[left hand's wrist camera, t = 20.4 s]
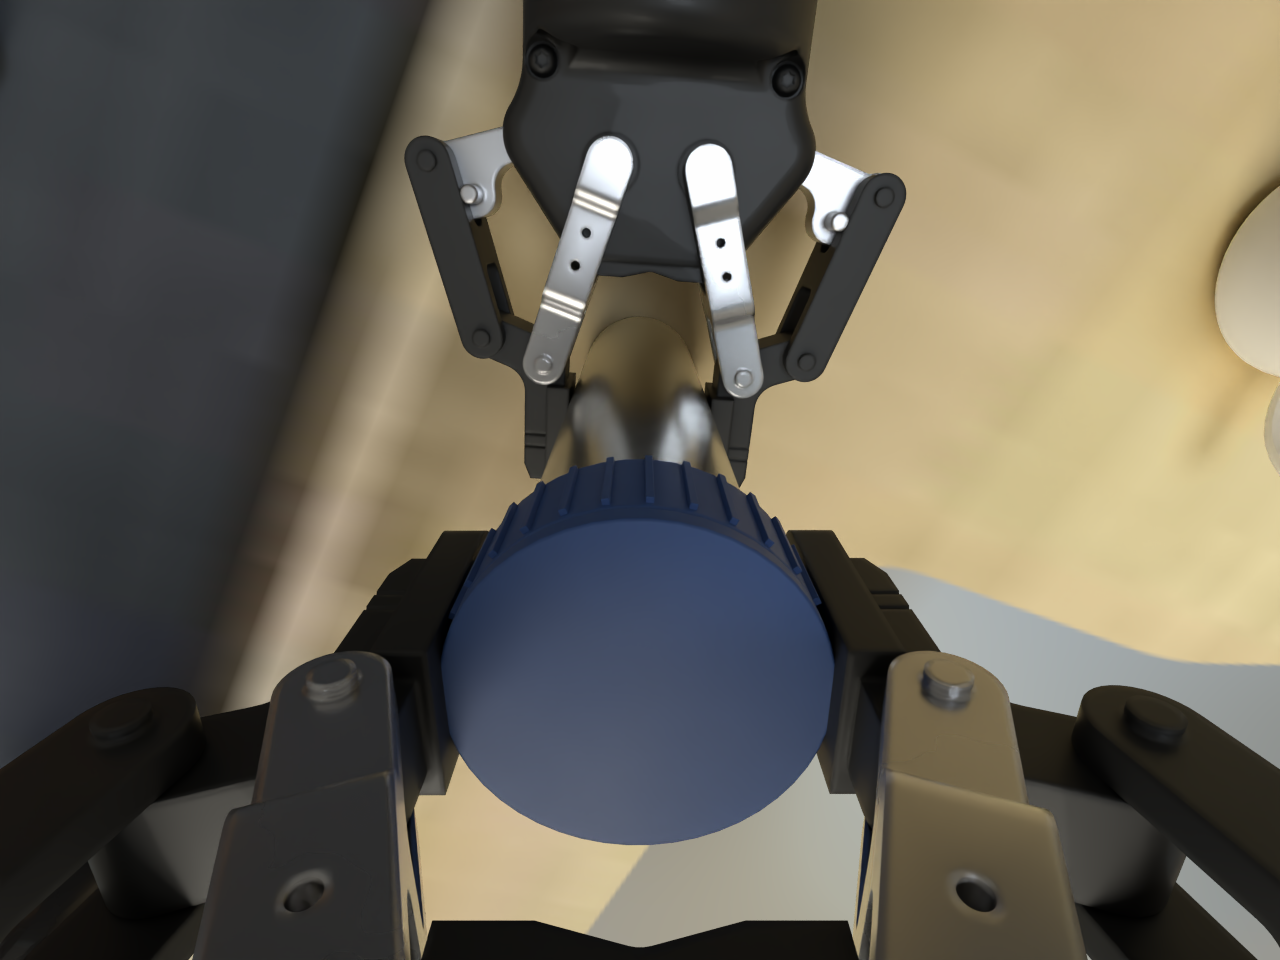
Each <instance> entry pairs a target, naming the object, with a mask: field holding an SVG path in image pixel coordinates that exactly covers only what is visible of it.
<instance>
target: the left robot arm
mask: <svg viewBox="0 0 1280 960" xmlns="http://www.w3.org/2000/svg"><path fill="white" fill-rule="evenodd" d="M488 533H489V532H488V531H444V532H443V533H442V534H441V536H440V538H439V539H438V541H437V542H436V544H435V546H434V547H433V549H432V550H431V552H430V554H429V555H428V557H427V559H411V560H409V561H408V562H406V563H405V564H403V565H402V566H400V567H399V568H397V569H396V570H394V571H393V572H391V573H390V574H389V575H388V576H387V578H386V579H385V580H384V582H383V583H382V585H381V586H380V588H379V589H378V591H377V595H374V596H373V598H372V599H371V601H370V602H369V603H368V605H367V609H366V610H364V611H363V612H362V614H361V615H360V616H359V618H358V619H357V621H356V622H355V624H354V625H353V626H352V628H351V629H350V631H349V632H348V634H347V635H346V637H345V638H344V639H343V641H342V642H341V644H340V645H339V647H338V648H337V649H336V651H335V652H334V653H333V654H328V655H325V656H322V657H319V658H316V659H313V660H311V661H309V662H306V663H304V664H303V665H301V666H299V667H297V668H296V669H294V670H293V671H291V672H290V673H289V674H287V675H286V676H285V677H284V678H283V679H282V680H281V681H280V682H279V683H278V684H277V686H276V687H275V689H274V691H273V693H272V696H271V701H270V702H268V703H265V704H262V705H258V706H254V707H249V708H245V709H240V710H235V711H230V712H225V713H220V714H216V715H211V716H206V717H201V718H200V716H199V712H198V709H197V705H196V702H195V700H194V697H193V696H192V695H191V694H190V693H188V692H186V691H184V690H181V689H177V688H170V687H157V688H149V689H143V690H138V691H134V692H130V693H127V694H123V695H120V696H117V697H115V698H112V699H109V700H107V701H105V702H103V703H100V704H98V705H96V706H94V707H92V708H91V709H89V710H87V711H85V712H84V713H82V714H80V715H79V716H77V717H76V718H74V719H73V720H71V721H70V722H68V723H67V724H65V725H64V726H63V727H61V728H60V729H58V730H57V731H55V732H54V733H52V734H51V735H49V736H48V737H47V738H45V739H44V740H42V741H41V742H39V743H38V744H36V745H35V746H33V747H32V748H31V749H29V750H28V751H26V752H25V753H23V754H22V755H20V756H19V757H17V758H16V759H15V760H13V761H12V762H10V763H9V764H7V765H6V766H4V767H3V768H1V769H0V960H189V958H190V957H191V956H192V955H193V954H194V955H193V959H192V960H1088V959H1087V955H1088V956H1089V957H1090V958H1091V959H1092V960H1257V959H1256V958H1255V957H1254V956H1253V955H1252V954H1251V953H1250V952H1249V951H1248V950H1247V949H1246V948H1245V947H1244V946H1243V945H1241V944H1240V943H1239V942H1238V941H1237V940H1236V939H1235V938H1234V937H1233V936H1232V935H1231V934H1230V933H1229V932H1228V931H1227V930H1226V929H1225V928H1224V927H1223V926H1221V925H1220V924H1219V923H1218V922H1217V921H1216V920H1215V919H1214V918H1213V917H1212V916H1211V915H1210V914H1209V913H1208V912H1207V911H1206V910H1205V909H1204V908H1203V907H1202V906H1200V905H1199V904H1198V903H1197V902H1196V901H1195V900H1194V899H1193V898H1192V897H1191V896H1190V895H1189V894H1188V893H1187V892H1186V891H1185V890H1184V889H1183V888H1181V887H1180V886H1179V885H1178V884H1177V883H1176V880H1177V878H1178V875H1179V873H1180V870H1181V868H1182V865H1183V863H1184V860H1185V858H1186V856H1187V857H1188V858H1189V859H1191V860H1192V861H1193V862H1194V863H1195V864H1196V865H1197V866H1198V867H1199V868H1201V869H1202V870H1203V871H1204V872H1205V873H1206V874H1207V875H1208V876H1209V877H1211V878H1212V879H1213V880H1214V881H1215V882H1216V883H1217V884H1218V885H1220V886H1221V887H1222V888H1223V889H1224V890H1225V891H1226V892H1227V893H1228V894H1229V895H1231V896H1232V897H1233V898H1234V899H1235V900H1236V901H1237V902H1238V903H1239V904H1241V905H1242V906H1243V907H1244V908H1245V909H1246V910H1247V911H1248V912H1250V913H1251V914H1252V915H1253V916H1254V917H1255V918H1256V919H1257V920H1258V921H1259V922H1260V923H1261V924H1262V925H1263V926H1264V927H1265V928H1266V929H1267V930H1268V931H1269V932H1270V934H1271V935H1272V936H1273V938H1274V939H1275V941H1276V942H1277V943H1278V945H1279V947H1280V769H1279V768H1277V767H1276V766H1274V765H1273V764H1271V763H1270V762H1268V761H1267V760H1265V759H1264V758H1263V757H1261V756H1260V755H1258V754H1257V753H1255V752H1254V751H1252V750H1251V749H1249V748H1248V747H1247V746H1245V745H1244V744H1242V743H1241V742H1239V741H1238V740H1236V739H1235V738H1233V737H1232V736H1231V735H1229V734H1228V733H1226V732H1225V731H1223V730H1222V729H1220V728H1219V727H1217V726H1216V725H1215V724H1213V723H1212V722H1210V721H1209V720H1207V719H1206V718H1204V717H1203V716H1201V715H1200V714H1198V713H1197V712H1195V711H1194V710H1192V709H1190V708H1189V707H1187V706H1185V705H1183V704H1181V703H1179V702H1177V701H1175V700H1172V699H1170V698H1168V697H1165V696H1162V695H1160V694H1157V693H1154V692H1151V691H1147V690H1143V689H1139V688H1134V687H1128V686H1120V685H1108V686H1100V687H1096V688H1093V689H1091V690H1089V691H1088V692H1087V693H1086V694H1085V695H1084V696H1083V699H1082V701H1081V705H1080V708H1079V711H1078V715H1077V717H1074V716H1069V715H1065V714H1060V713H1055V712H1050V711H1045V710H1040V709H1035V708H1031V707H1025V706H1021V705H1017V704H1013V703H1010V701H1009V697H1008V693H1007V691H1006V689H1005V687H1004V686H1003V684H1002V683H1001V682H1000V681H999V680H998V679H997V678H996V677H995V676H994V675H993V674H991V673H990V672H989V671H987V670H986V669H984V668H983V667H981V666H979V665H977V664H976V663H974V662H971V661H969V660H967V659H964V658H961V657H958V656H955V655H951V654H947V653H942V652H941V651H940V650H939V649H938V647H937V646H936V644H935V643H934V641H933V640H932V638H931V637H930V635H929V634H928V633H927V631H926V630H925V628H924V627H923V625H922V624H921V622H920V621H919V619H918V618H917V617H916V615H915V614H914V612H913V611H912V610H911V609H909V605H908V603H907V602H906V600H905V599H904V598H903V596H902V595H901V594H899V590H898V589H897V587H896V586H895V584H894V583H893V582H892V580H891V579H890V577H889V576H888V574H887V573H886V572H884V571H883V570H881V569H880V568H878V567H877V566H875V565H874V564H872V563H871V562H869V561H868V560H866V559H865V558H849V556H848V555H847V553H846V552H845V550H844V548H843V547H842V545H841V543H840V542H839V540H838V538H837V537H836V535H835V533H834V532H833V531H832V530H789V531H788V532H787V534H786V536H787V539H788V541H789V543H790V545H793V544H794V545H795V547H796V550H797V552H798V554H799V556H800V558H801V560H802V562H803V564H804V567H805V569H806V571H807V573H808V575H809V577H810V579H811V581H812V584H813V586H814V588H815V590H816V592H817V594H818V596H819V598H820V601H821V604H819V605H817V606H816V607H817V609H818V611H819V614H820V616H821V618H822V620H823V623H824V625H825V628H826V631H827V633H828V636H829V638H830V641H831V644H832V649H833V654H834V660H835V665H834V675H833V684H832V692H831V700H830V708H829V716H828V724H827V730H826V735H825V737H824V739H823V741H822V744H821V746H820V748H819V750H818V751H817V756H818V759H819V762H820V765H821V768H822V771H823V774H824V777H825V781H826V784H827V787H828V789H829V793H830V794H856V795H857V798H858V801H859V803H860V806H861V809H862V811H863V814H864V816H865V817H864V823H863V829H862V838H861V850H860V860H859V872H858V883H857V894H856V905H855V916H854V928H853V937H852V934H851V931H850V927H849V924H848V921H742V922H739V923H735V924H732V925H728V926H724V927H720V928H716V929H713V930H709V931H705V932H702V933H698V934H694V935H691V936H687V937H683V938H679V939H676V940H672V941H668V942H665V943H661V944H657V945H654V946H649V947H631V946H626V945H623V944H619V943H615V942H612V941H608V940H604V939H601V938H597V937H593V936H589V935H586V934H582V933H578V932H575V931H571V930H567V929H564V928H560V927H556V926H552V925H549V924H545V923H541V922H538V921H432V924H431V927H430V930H429V934H428V937H427V928H426V917H425V905H424V894H423V883H422V872H421V861H420V849H419V838H418V830H417V823H416V817H415V811H414V807H415V804H416V801H417V799H418V796H419V795H446V792H447V789H448V786H449V783H450V780H451V777H452V774H453V771H454V768H455V765H456V762H457V759H458V756H459V752H458V751H457V749H456V747H455V744H454V742H453V740H452V738H451V736H450V732H449V726H448V718H447V710H446V702H445V694H444V687H443V679H442V670H441V655H442V650H443V645H444V642H445V639H446V636H447V634H448V631H449V628H450V625H451V623H452V621H453V620H452V619H449V618H448V617H449V614H450V612H451V609H452V607H453V605H454V603H455V601H456V599H457V597H458V595H459V593H460V591H461V589H462V587H463V584H464V582H465V580H466V578H467V576H468V574H469V572H470V570H471V568H472V566H473V564H474V562H475V559H476V558H477V555H478V553H479V551H480V549H481V547H482V545H483V543H484V541H485V539H486V537H487V535H488ZM1086 954H1087V955H1086Z"/></svg>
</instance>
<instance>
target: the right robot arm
mask: <svg viewBox="0 0 1280 960" xmlns="http://www.w3.org/2000/svg"><path fill="white" fill-rule="evenodd" d="M816 7H817V0H523V64H522V73H521V78H520V82H519V86H518V89H517V91H516V94H515V96H514V98H513V100H512V102H511V104H510V105H509V107H508V109H507V111H506V114H505V117H504V122H503V127H499V128H495V129H491V130H487V131H483V132H479V133H476V134H472V135H468V136H464V137H460V138H456V139H452V140H448V141H442V140H439V139H436V138H434V137H430V136H419V137H417V138H414V139H413V140H412V141H411V142H410V143H409V144H408V146H407V148H406V151H405V157H404V159H405V165H406V169H407V172H408V175H409V178H410V181H411V184H412V188H413V191H414V194H415V197H416V200H417V203H418V206H419V209H420V213H421V216H422V219H423V222H424V225H425V228H426V231H427V235H428V238H429V241H430V244H431V247H432V250H433V253H434V256H435V260H436V263H437V266H438V269H439V272H440V275H441V278H442V282H443V285H444V288H445V291H446V294H447V297H448V300H449V303H450V307H451V310H452V313H453V316H454V319H455V322H456V325H457V329H458V332H459V335H460V338H461V341H462V344H463V346H464V348H465V349H466V351H467V352H468V353H470V354H471V355H472V356H474V357H477V358H481V359H485V358H490V359H493V360H495V361H497V362H500V363H502V364H504V365H507V366H509V367H511V368H512V369H514V370H515V371H516V372H517V373H518V374H519V375H520V377H521V378H522V380H523V383H524V386H525V455H524V463H525V466H526V468H527V471H528V473H529V475H530V478H538V479H541V478H542V475H543V473H544V470H545V467H546V465H547V462H548V459H549V457H550V454H551V451H552V449H553V446H554V443H555V441H556V438H557V436H558V433H559V430H560V428H561V425H562V422H563V420H564V417H565V414H566V412H567V409H568V406H569V404H570V401H571V398H572V396H573V393H574V390H575V384H576V373H571V372H569V367H570V356H571V353H572V350H573V347H574V344H575V342H576V339H577V336H578V333H579V330H580V327H581V324H582V322H583V319H584V316H585V313H586V310H587V307H588V305H589V302H590V299H591V297H592V294H593V291H594V288H595V286H596V283H597V280H598V277H599V275H600V276H614V277H626V276H631V275H636V274H641V273H645V272H654V273H657V274H659V275H662V276H665V277H668V278H671V279H673V280H676V281H682V282H696V283H698V286H699V291H700V296H701V301H702V305H703V309H704V313H705V317H706V322H707V327H708V332H709V338H710V343H711V348H712V353H713V358H714V363H715V365H714V374H713V383H707V382H706V383H705V393H704V394H705V396H706V399H707V402H708V405H709V407H710V410H711V413H712V416H713V418H714V421H715V424H716V426H717V429H718V432H719V435H720V437H721V440H722V443H723V446H724V448H725V451H726V454H727V456H728V459H729V462H730V465H731V467H732V470H733V473H734V476H735V478H736V481H737V484H738V486H739V488H740V486H741V484H742V482H743V481H744V479H745V475H746V468H747V459H748V453H749V445H750V438H751V430H752V423H753V416H754V408H755V404H756V401H757V399H758V397H759V396H760V395H761V393H762V392H763V391H765V390H766V389H767V388H769V387H771V386H774V385H777V384H781V383H784V382H788V381H792V380H797V381H800V382H809V381H812V380H815V379H816V378H818V377H819V376H820V375H821V374H822V373H823V371H824V370H825V368H826V366H827V363H828V361H829V359H830V357H831V355H832V353H833V351H834V349H835V347H836V345H837V343H838V341H839V339H840V336H841V334H842V332H843V330H844V328H845V326H846V324H847V322H848V320H849V318H850V316H851V314H852V312H853V309H854V307H855V305H856V303H857V301H858V299H859V297H860V295H861V293H862V291H863V289H864V287H865V285H866V283H867V280H868V278H869V276H870V274H871V272H872V270H873V268H874V266H875V264H876V262H877V260H878V258H879V256H880V253H881V251H882V249H883V247H884V245H885V243H886V241H887V239H888V237H889V235H890V233H891V231H892V229H893V227H894V224H895V222H896V220H897V218H898V216H899V214H900V212H901V210H902V208H903V206H904V203H905V200H906V188H905V185H904V183H903V181H902V180H901V179H900V178H899V177H898V176H896V175H894V174H891V173H882V174H881V173H875V174H867V173H865V172H863V171H860V170H858V169H856V168H853V167H851V166H849V165H847V164H844V163H842V162H840V161H837V160H835V159H833V158H830V157H828V156H826V155H824V154H821V153H819V152H817V151H816V142H815V136H814V133H813V130H812V127H811V125H810V122H809V118H808V114H807V109H806V100H805V88H806V80H807V72H808V65H809V58H810V50H811V43H812V36H813V29H814V21H815V14H816ZM513 166H515V168H516V170H517V171H518V173H519V174H520V176H521V178H522V179H523V181H524V182H525V184H526V186H527V187H528V189H529V190H530V192H531V193H532V195H533V197H534V198H535V200H536V201H537V203H538V205H539V206H540V208H541V209H542V211H543V213H544V214H545V216H546V217H547V219H548V221H549V222H550V224H551V225H552V227H553V228H554V230H555V232H556V233H557V235H558V236H559V238H560V241H559V245H558V248H557V251H556V254H555V257H554V260H553V263H552V266H551V269H550V272H549V275H548V279H547V282H546V285H545V288H544V291H543V295H542V301H541V305H540V309H539V312H538V315H537V318H536V321H535V324H532V323H530V322H528V321H525V320H523V319H521V318H519V317H516V316H514V313H513V309H512V306H511V302H510V299H509V295H508V292H507V288H506V285H505V281H504V278H503V274H502V271H501V267H500V264H499V261H498V257H497V254H496V250H495V247H494V243H493V240H492V236H491V233H490V229H489V226H488V222H487V219H486V217H489V216H492V215H493V214H495V213H496V212H497V211H498V209H499V208H500V205H501V202H502V192H501V182H502V178H503V176H504V174H505V173H506V171H507V170H508V169H510V168H511V167H513ZM798 189H800V190H801V191H802V192H803V193H804V194H805V196H806V199H807V203H808V210H807V214H806V218H805V229H806V232H807V234H808V236H809V237H810V238H811V239H812V240H814V241H816V245H815V247H814V249H813V251H812V254H811V256H810V258H809V260H808V263H807V265H806V267H805V269H804V271H803V274H802V276H801V278H800V280H799V283H798V285H797V287H796V289H795V292H794V294H793V296H792V298H791V301H790V303H789V305H788V307H787V310H786V312H785V314H784V316H783V318H782V321H781V323H780V325H779V327H778V330H777V332H776V334H775V335H771V336H768V337H764V338H761V339H758V338H757V332H756V327H755V320H754V315H755V308H754V300H753V294H752V288H751V282H750V276H749V270H748V264H747V258H746V252H745V251H746V250H747V249H748V247H749V246H750V245H751V244H752V243H753V242H754V240H755V239H756V238H757V237H758V236H759V235H760V233H761V232H762V231H763V230H764V229H765V227H766V226H767V225H768V224H769V223H770V222H771V220H772V219H773V218H774V217H775V216H776V214H777V213H778V212H779V211H780V210H781V209H782V207H783V206H784V205H785V204H786V203H787V202H788V200H789V199H790V198H791V197H792V196H793V194H794V193H795V192H796V191H797V190H798Z"/></svg>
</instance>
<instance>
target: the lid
mask: <svg viewBox="0 0 1280 960" xmlns="http://www.w3.org/2000/svg"><path fill="white" fill-rule="evenodd" d="M819 604H821V601H820V598H819V596H818V594H817V592H816V590H815V588H814V586H813V584H812V581H811V579H810V577H809V575H808V573H807V571H806V569H805V567H804V564H803V562H802V560H801V558H800V556H799V554H798V552H797V550H796V547H795V545H794V544H793V545H790V543H789V541H788V539H787V536H786V534H785V532H784V530H783V528H782V525H781V523H780V521H779V520H778V518H777V517H776V516H775V517H774V518H772V519H771V518H770V517H769V516H768V514H767V513H766V512H765V511H764V510H763V509H762V508H761V507H760V506H759V504H758V501H757V499H756V497H755V495H753V494H752V493H751V492H750V493H749V494H748V495H746V494H744V493H743V492H742V491H740V490H739V489H738V488H736V487H735V486H733V485H731V484H729V483H728V482H727V480H726V477H725V476H724V475H722V474H720V473H719V474H718V475H717V477H716V476H715V475H712V474H709V473H707V472H704V471H702V470H699V469H696V468H694V467H691V464H690V462H687V461H683V463H682V464H678V463H674V462H667V461H659V460H653V456H649V455H645V459H624V460H617V461H614V457H608V458H606V462H602V463H598V464H594V465H590V466H586V467H583V468H579V469H578V468H577V466H576V465H575V466H573V467H570V469H569V472H568V473H567V474H564V475H562V476H559V477H557V478H556V479H554V480H552V481H550V482H548V483H547V484H545V483H544V482H543V481H541V482H539V483H538V484H537V485H536V488H535V490H534V492H533V493H532V494H530V495H529V496H528V497H526V498H525V499H524V500H522V501H521V502H520V503H519V504H518V505H517V504H515V503H514V502H513V503H512V504H511V505H510V506H509V508H508V510H507V513H506V515H505V517H504V519H503V521H502V523H501V525H500V526H499V527H498V529H497V530H494V529H492V528H491V530H490V531H489V533H488V535H487V537H486V539H485V541H484V543H483V545H482V547H481V549H480V551H479V553H478V555H477V558H476V559H475V562H474V564H473V566H472V568H471V570H470V572H469V574H468V576H467V578H466V580H465V582H464V584H463V587H462V589H461V591H460V593H459V595H458V597H457V599H456V601H455V603H454V605H453V607H452V609H451V612H450V614H449V617H448V618H449V619H452V620H453V621H452V623H451V625H450V628H449V631H448V634H447V636H446V639H445V642H444V645H443V650H442V655H441V670H442V679H443V687H444V694H445V702H446V710H447V718H448V726H449V732H450V736H451V738H452V740H453V742H454V744H455V747H456V749H457V751H458V752H459V754H460V755H461V757H462V758H463V760H464V761H465V763H466V764H467V766H468V767H469V769H470V770H471V771H472V772H473V773H474V775H475V776H476V777H477V778H478V779H479V780H480V781H481V783H482V784H483V785H484V786H485V787H486V788H488V789H489V790H490V791H491V792H492V793H493V794H494V795H495V796H496V797H498V798H499V799H500V800H501V801H503V802H504V803H506V804H507V805H508V806H510V807H511V808H513V809H514V810H516V811H517V812H518V813H520V814H522V815H524V816H526V817H528V818H529V819H531V820H533V821H535V822H537V823H539V824H541V825H544V826H546V827H549V828H551V829H553V830H556V831H558V832H561V833H565V834H568V835H571V836H575V837H578V838H581V839H587V840H592V841H597V842H602V843H611V844H622V845H654V844H664V843H674V842H679V841H684V840H689V839H694V838H698V837H701V836H704V835H708V834H711V833H714V832H717V831H720V830H722V829H725V828H727V827H730V826H732V825H734V824H737V823H739V822H741V821H743V820H744V819H746V818H748V817H750V816H752V815H753V814H755V813H757V812H759V811H760V810H762V809H763V808H765V807H766V806H767V805H769V804H770V803H771V802H773V801H774V800H776V799H777V798H778V797H779V796H780V795H781V794H783V793H784V792H785V791H786V790H787V789H788V788H789V787H790V786H791V785H792V784H793V783H794V782H795V781H796V780H797V779H798V778H799V776H800V775H801V774H802V773H803V772H804V770H805V769H806V768H807V767H808V765H809V764H810V762H811V761H812V759H813V758H814V756H815V754H816V753H817V751H818V750H819V748H820V746H821V744H822V741H823V739H824V737H825V735H826V730H827V724H828V716H829V708H830V700H831V692H832V684H833V675H834V665H835V660H834V654H833V649H832V644H831V641H830V638H829V636H828V633H827V631H826V628H825V625H824V623H823V620H822V618H821V616H820V614H819V611H818V609H817V607H816V606H817V605H819Z"/></svg>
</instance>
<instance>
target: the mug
mask: <svg viewBox="0 0 1280 960" xmlns="http://www.w3.org/2000/svg"><path fill="white" fill-rule="evenodd" d="M1215 312H1216V318H1217V323H1218V325H1219V328H1220V331H1221V334H1222V335H1223V337H1224V339H1225V341H1226V343H1227V344H1228V345H1229V347H1230V348H1231V349H1232V350H1233V351H1234V352H1235V354H1236V355H1237V356H1239V357H1240V358H1241V359H1242V360H1243V361H1245V362H1246V363H1248V364H1249V365H1251V366H1253V367H1255V368H1256V369H1258V370H1260V371H1263V372H1265V373H1268V374H1271V375H1273V376H1276V377H1280V186H1279V187H1278V188H1276V189H1275V190H1274V191H1273V192H1271V193H1270V194H1269V195H1268V196H1267V197H1266V198H1265V199H1264V200H1262V201H1261V203H1260V204H1259V205H1258V206H1257V207H1256V208H1255V209H1254V210H1253V211H1252V212H1251V213H1250V215H1249V216H1248V217H1247V218H1246V220H1245V221H1244V222H1243V224H1242V225H1241V226H1240V228H1239V229H1238V231H1237V233H1236V234H1235V236H1234V237H1233V239H1232V241H1231V243H1230V245H1229V247H1228V249H1227V251H1226V253H1225V255H1224V258H1223V261H1222V263H1221V266H1220V269H1219V273H1218V277H1217V282H1216V289H1215ZM1264 441H1265V448H1266V451H1267V453H1268V456H1269V459H1270V461H1271V463H1272V465H1273V466H1274V468H1275V470H1276V471H1277V473H1278V475H1279V476H1280V382H1279V384H1278V386H1277V388H1276V390H1275V392H1274V394H1273V396H1272V399H1271V401H1270V404H1269V407H1268V410H1267V414H1266V418H1265V424H1264Z"/></svg>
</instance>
